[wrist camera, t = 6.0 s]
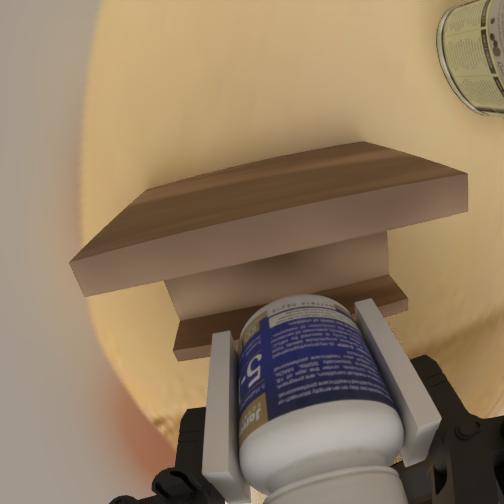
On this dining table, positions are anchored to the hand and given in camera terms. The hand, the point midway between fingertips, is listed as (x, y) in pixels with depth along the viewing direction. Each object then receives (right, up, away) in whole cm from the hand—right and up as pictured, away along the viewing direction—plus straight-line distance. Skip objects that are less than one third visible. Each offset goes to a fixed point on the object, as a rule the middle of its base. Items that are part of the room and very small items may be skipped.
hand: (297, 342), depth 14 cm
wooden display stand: (-1, +5, +10) cm, 12 cm away
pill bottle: (0, 0, +1) cm, 1 cm away
